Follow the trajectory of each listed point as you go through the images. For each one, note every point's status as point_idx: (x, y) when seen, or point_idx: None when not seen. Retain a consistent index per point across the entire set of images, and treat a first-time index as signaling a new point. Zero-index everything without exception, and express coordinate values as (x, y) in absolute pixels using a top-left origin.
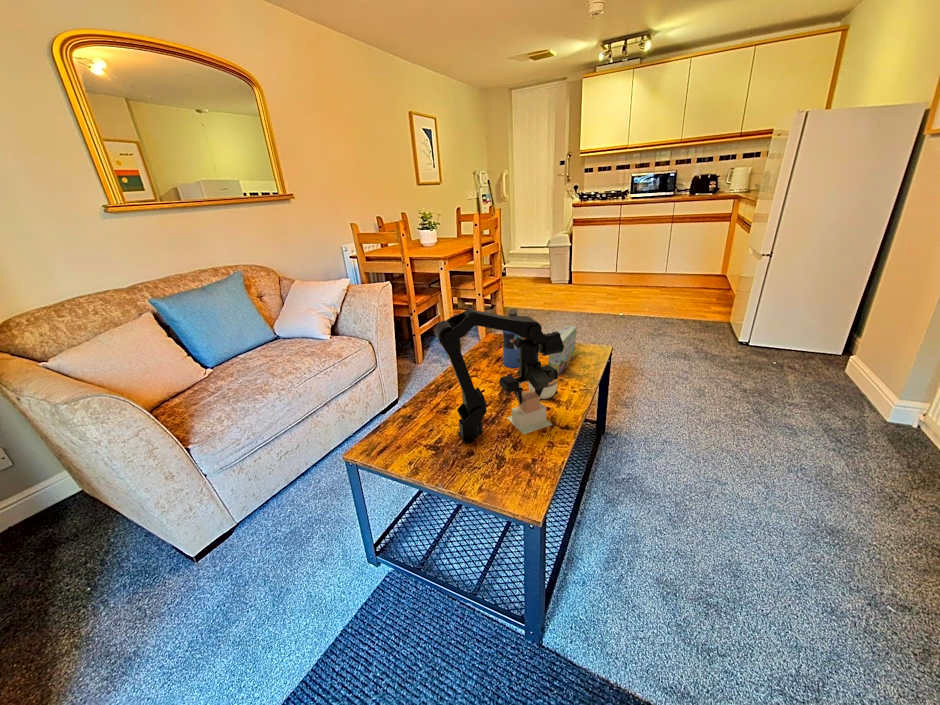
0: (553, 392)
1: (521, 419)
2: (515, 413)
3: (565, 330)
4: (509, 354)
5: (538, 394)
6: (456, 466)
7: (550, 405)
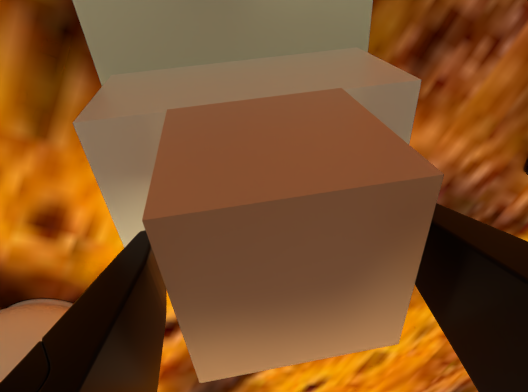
0: None
1: (377, 69)
2: None
3: None
4: None
5: (139, 282)
6: None
7: (20, 248)
